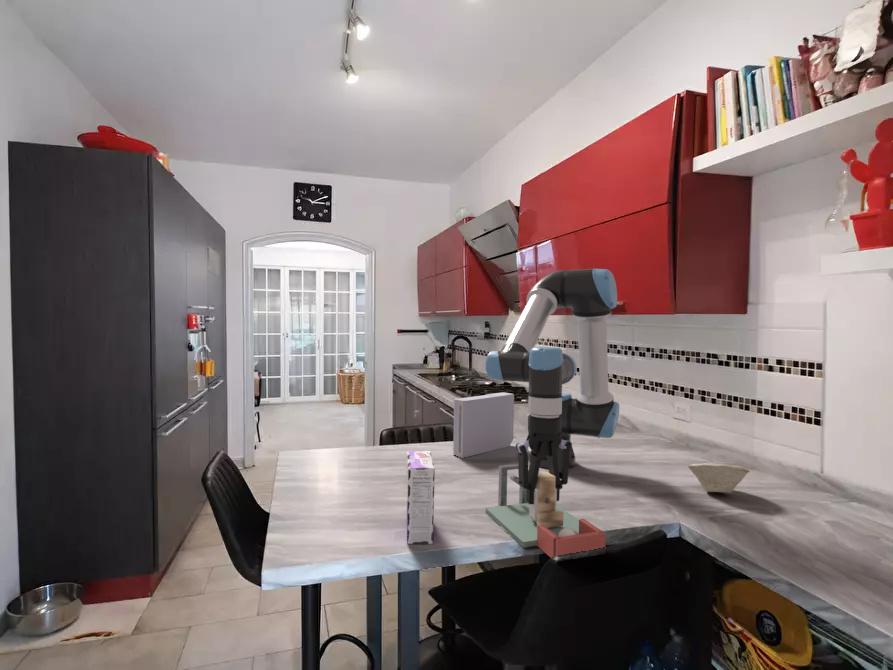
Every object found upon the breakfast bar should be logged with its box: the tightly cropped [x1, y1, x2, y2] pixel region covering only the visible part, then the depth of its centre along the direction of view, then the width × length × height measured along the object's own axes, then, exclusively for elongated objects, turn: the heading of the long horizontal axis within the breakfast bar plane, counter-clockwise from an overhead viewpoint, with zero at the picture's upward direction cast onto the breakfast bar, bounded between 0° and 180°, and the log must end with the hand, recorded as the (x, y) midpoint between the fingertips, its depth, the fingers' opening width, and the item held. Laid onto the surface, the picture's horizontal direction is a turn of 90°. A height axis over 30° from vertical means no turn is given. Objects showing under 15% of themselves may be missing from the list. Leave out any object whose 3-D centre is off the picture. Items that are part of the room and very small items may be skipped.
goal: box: [536, 518, 607, 559], centre depth 103 cm, size 11×8×4 cm
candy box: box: [406, 450, 436, 545], centre depth 112 cm, size 14×6×16 cm, turn 5°
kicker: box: [508, 471, 564, 528], centre depth 120 cm, size 6×20×11 cm, turn 19°
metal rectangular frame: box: [497, 463, 527, 506], centre depth 128 cm, size 8×2×10 cm, turn 109°
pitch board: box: [485, 503, 579, 549], centre depth 116 cm, size 18×20×1 cm
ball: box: [558, 528, 576, 537], centre depth 104 cm, size 4×4×4 cm
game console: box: [452, 391, 515, 459], centre depth 182 cm, size 6×27×20 cm, turn 133°
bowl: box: [688, 462, 750, 494], centre depth 140 cm, size 15×14×10 cm
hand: (542, 516), depth 114 cm, fingers closed on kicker, 4 cm apart
